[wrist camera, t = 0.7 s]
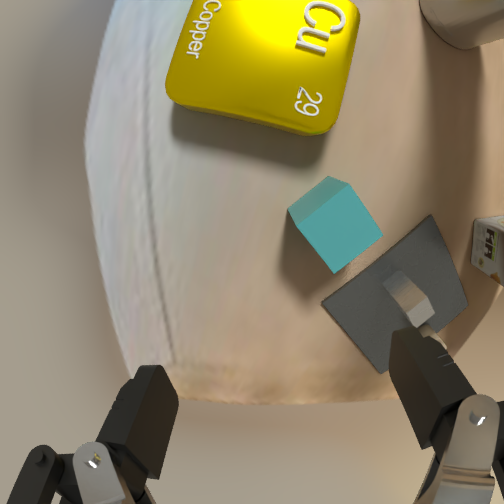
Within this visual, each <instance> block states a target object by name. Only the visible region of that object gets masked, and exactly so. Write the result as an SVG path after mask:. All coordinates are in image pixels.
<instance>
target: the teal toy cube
mask: <svg viewBox="0 0 504 504" xmlns="http://www.w3.org/2000/svg"><path fill="white" fill-rule="evenodd" d="M288 211H289V213H290V215H291V217H292V219H293V221H294V223H295V225H296V227H297V228H298V229H299V230H300V231H301V233H302V234H303V235H304V236H305V238H306V239H307V240H308V241H309V243H310V244H311V245H312V246H313V248H314V249H315V250H316V251H317V253H318V254H319V255H320V256H321V258H322V259H323V260H324V262H325V263H326V264H327V265H328V267H329V268H330V269H331V271H332V272H333V273H334V274H335V273H336V272H337V271H339V270H340V269H341V268H343V267H344V266H345V265H347V264H348V263H349V262H350V261H352V260H353V259H354V258H356V257H357V256H358V255H359V254H361V253H362V252H363V251H364V250H366V249H367V248H368V247H369V246H371V245H372V244H373V243H374V242H376V241H377V240H378V239H379V238H380V237H382V236H383V234H382V232H381V231H380V229H379V228H378V226H377V224H376V223H375V221H374V220H373V218H372V217H371V215H370V214H369V212H368V211H367V209H366V208H365V206H364V205H363V203H362V202H361V200H360V199H359V197H358V196H357V195H356V193H355V192H354V190H353V189H352V187H351V186H350V185H349V184H348V183H345V182H343V181H340V180H338V179H335V178H332V177H330V176H328V177H327V178H325V179H324V180H323V181H322V182H320V183H319V184H318V185H317V186H315V187H314V188H313V189H312V190H310V191H309V192H308V193H307V194H305V195H304V196H303V197H302V198H300V199H299V200H298V201H297V202H295V203H294V204H293V205H292V206H290V207H289V208H288Z"/></svg>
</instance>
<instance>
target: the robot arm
mask: <svg viewBox="0 0 504 504" xmlns="http://www.w3.org/2000/svg"><path fill="white" fill-rule="evenodd" d="M420 6H421V10H422V12H423V15H424V16H425V18H426V20H427V22H428V23H429V24H430V26H431V27H432V28H433V30H434V31H435V32H436V33H437V34H438V35H439V36H440V37H441V38H442V39H443V40H445V41H446V42H447V43H449V44H450V45H452V46H454V47H456V48H459V49H464V50H466V49H471V48H474V47H477V46H480V45H483V44H486V43H490V42H493V41H496V40H500V39H503V38H504V0H420ZM389 373H390V377H391V380H392V382H393V384H394V387H395V389H396V391H397V393H398V395H399V397H400V400H401V402H402V404H403V406H404V409H405V411H406V413H407V416H408V418H409V420H410V423H411V425H412V427H413V430H414V432H415V434H416V437H417V439H418V442H419V444H420V447H421V449H422V450H423V449H426V448H428V447H430V446H433V449H434V451H435V453H434V455H433V458H432V461H431V464H430V466H429V469H428V471H427V474H426V476H425V479H424V481H423V483H422V486H421V488H420V490H419V492H418V494H417V497H416V499H415V501H414V503H413V504H490V501H491V497H492V493H493V490H494V485H495V478H494V477H493V476H491V475H490V471H491V466H492V468H493V470H494V473H495V476H496V479H497V481H498V484H499V487H500V490H501V493H502V496H503V499H504V401H501V402H496V401H495V400H494V399H492V398H491V397H489V396H486V395H483V394H477V393H476V392H475V391H474V389H473V388H472V386H471V385H470V384H469V382H468V380H467V379H466V377H465V376H464V375H463V373H462V372H461V370H460V369H459V368H458V366H457V365H456V363H454V360H453V359H452V358H451V356H450V355H448V352H447V351H446V349H445V348H444V347H443V345H442V344H441V343H440V342H438V341H437V340H435V339H434V338H432V337H430V336H427V337H424V338H423V336H422V335H421V333H420V332H419V331H418V329H417V328H416V327H415V326H409V327H406V328H402V329H399V330H395V331H393V333H392V338H391V348H390V356H389ZM178 406H179V401H178V396H177V393H176V391H175V389H174V387H173V385H172V383H171V381H170V379H169V377H168V376H167V374H166V372H165V370H164V368H163V367H162V366H161V365H142V366H140V367H139V368H138V370H137V372H136V374H135V377H134V379H130V380H129V381H128V382H127V383H126V384H125V385H124V386H123V387H122V388H121V389H120V391H119V393H118V395H117V397H116V401H114V403H113V405H112V410H110V411H109V414H108V416H107V418H106V420H105V422H104V424H103V426H102V428H101V430H100V432H99V435H98V437H97V439H96V441H95V442H88V443H85V444H83V445H82V446H80V447H79V448H78V449H77V450H76V452H75V453H74V454H57V453H56V452H55V451H54V450H53V449H52V448H51V447H49V446H47V445H39V446H37V447H35V448H34V449H32V450H31V452H30V453H29V455H28V457H27V459H26V461H25V463H24V465H23V467H22V469H21V471H20V474H19V476H18V478H17V480H16V482H15V485H14V487H13V490H12V492H11V494H10V497H9V499H8V502H7V504H51V501H52V499H53V496H54V493H55V492H57V493H58V494H59V495H61V496H62V497H61V500H60V503H59V504H156V502H155V500H154V499H153V497H152V495H151V493H150V491H149V489H148V487H147V486H146V485H145V483H146V480H147V478H150V479H158V480H159V477H160V474H161V469H162V466H163V462H164V458H165V455H166V451H167V447H168V443H169V440H170V436H171V432H172V429H173V425H174V422H175V417H176V414H177V411H178Z"/></svg>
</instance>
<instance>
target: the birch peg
mask: <svg viewBox="0 0 504 504" xmlns="http://www.w3.org/2000/svg"><path fill="white" fill-rule="evenodd" d="M418 331H419V332H420V333H421V335H422V336H423V338H424V337H427V336H430V337H432V338H434V339H435V340H437V341H438V342H440V343H441V344H442V345H443V347H444V348H445V349H446V350H447V346H446V345H445V344H444V342H443V341H442V340H441V339H440V337H439V336H438V335H437V334H436V332H435V331H434V330H433V329H432V328H431V326H430V325H427V324H426V325H423V326H421V327H420V328H418Z"/></svg>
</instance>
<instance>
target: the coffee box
mask: <svg viewBox="0 0 504 504" xmlns="http://www.w3.org/2000/svg"><path fill="white" fill-rule="evenodd" d="M471 264H472V265H474V266H475V267H477V268H478V269H480V270H481V271H482V272H484V273H485V274H487V275H488V276H490V277H491V278H493V279H494V280H495V281H497V282H498V283H499V284H501V285H502V286H503V287H504V216H497V217H489V218H482V219H475V221H474V234H473V246H472V256H471Z"/></svg>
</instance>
